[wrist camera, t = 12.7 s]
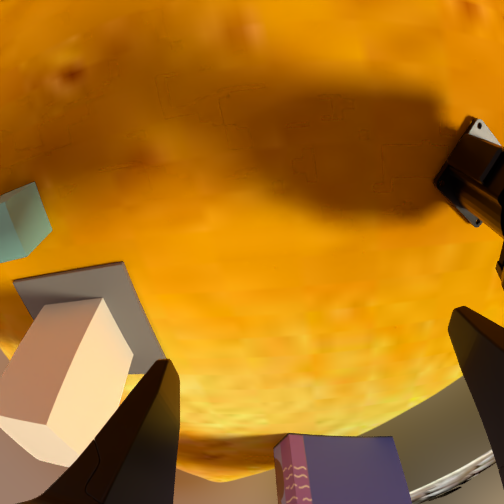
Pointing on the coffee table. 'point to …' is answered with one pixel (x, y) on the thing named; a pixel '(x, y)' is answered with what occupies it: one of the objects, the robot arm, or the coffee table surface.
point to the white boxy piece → (64, 380)
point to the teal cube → (21, 222)
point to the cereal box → (339, 470)
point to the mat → (115, 296)
